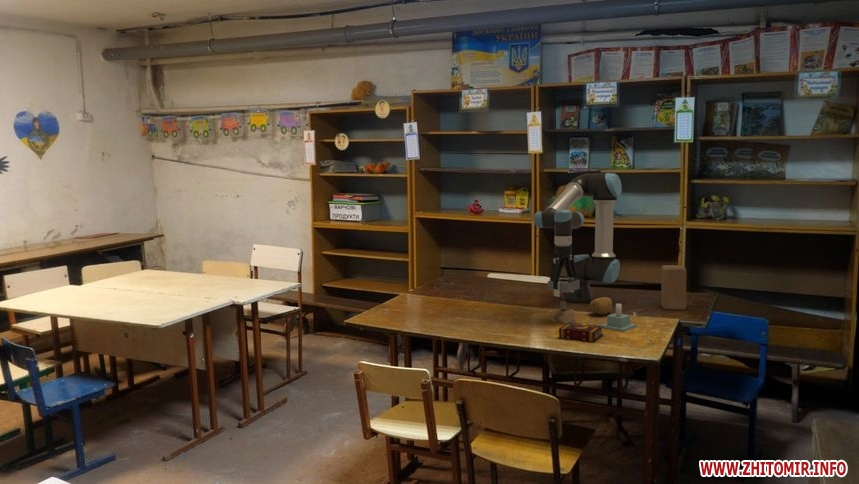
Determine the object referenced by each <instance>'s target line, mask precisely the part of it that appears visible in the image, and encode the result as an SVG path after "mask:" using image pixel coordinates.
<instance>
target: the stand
mask: <svg viewBox="0 0 859 484" xmlns="http://www.w3.org/2000/svg"><path fill="white" fill-rule="evenodd" d="M551 312H552V317H551V318H552V321H551V322H554V323H559V322H560V324H564V323H565V324H566V323H568V322H572V323H573V322H575V309H572V308H567V301H564V300H560V307H559V308H556V309H552V311H551ZM565 324H564V325H565Z"/></svg>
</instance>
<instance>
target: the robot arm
mask: <svg viewBox="0 0 859 484" xmlns="http://www.w3.org/2000/svg"><path fill="white" fill-rule="evenodd" d="M622 188H623V187H622V181H621V179H620V177H619V175H618V174H616V173H612V172H610V173H609V172H604V173H603V172H601V173H600V172H599V173H598V172H597V173H591V172H589V173H584V174H581V175H579V176H577V177H575V178H574V179H572V180H571V181H570V182H568V183H567V184H566V185H565V187H564V191H563V192H561V193H560V195H558V197H557V198H555V200H554V201H553V202H552V203H551V204H550V205H549V206H548V207H547V208H545V210H544V211H536V213H534V217H533V222H534V226H536V228H543V229H554V254H555V255H556V258H552V259H551V263H552V264H551V271H550V277H549V281H552V282H553V288H554V291H553V296H554V297H558V298H559V297H561V293H560V282H558V281H559V278H561V274H562V271H563V269H564V268H565V278H569V279H576V280H580V289H577V290H574V291H571V292H567V293H566V292H562V301H566V303H576V304H577V303H579V304H580V303H583V304H584V303H590V302H591V301H593V300H594V299H593V297H594V295H593V292H592V290H591V287H590V282H596V283H597V282H599V283H611V284H612V283H614V282H616V280H617V279H618V277H619V274H620V271H621V270H620V269H621V264H620V260H619V259H616V254H615V253H614V252H613V247H614V242H613V241H614V210H615V209H614V206H615V203H616V202H617V201H618V198H620V196H621V195H622V192H623V189H622ZM586 197H587V198H588V197H589V198H591V197H592V201H593V203H594V204H595V220H594V221H595V222H594V223H595V225H594V226H595V228H594V230H595V231H594V233H595V234H594V252H593V253H592V254H591V256H590V255H589V254H576V255H574V254H572V253H573V246H572V244H573V241H572V240H573V237H572V234H573V231H572V230H575V229H576V230H577V229H579V228H580V227H582V226H583V225H584V222H585V217H584V215H583V213H581V212H579V211H571V209H570V208H571V207H572V206H573V204H574V203H576V202H577V201H579V200H582V198H586Z"/></svg>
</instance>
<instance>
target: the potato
mask: <svg viewBox="0 0 859 484" xmlns="http://www.w3.org/2000/svg"><path fill="white" fill-rule="evenodd" d="M612 308H613V301H612V299H611V298H610V297H606V296H602V297H597V298H595V299H593V300H592V301H590V302H589V311H591V312H592V313H593V314H595V315H601V316H604V315H607V314H608V313H610V312H611V310H612Z"/></svg>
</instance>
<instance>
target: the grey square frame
mask: <svg viewBox="0 0 859 484" xmlns="http://www.w3.org/2000/svg"><path fill="white" fill-rule="evenodd" d="M558 282H560V292H561V293H564V292H566V293H567V292H571V291H574V290H577V289H580V280H576V279H569V278H566V277H560V278H559V281H558ZM547 290H548V291H553V292H554V288H553V282H552V281H550V280H548V281H547Z"/></svg>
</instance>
